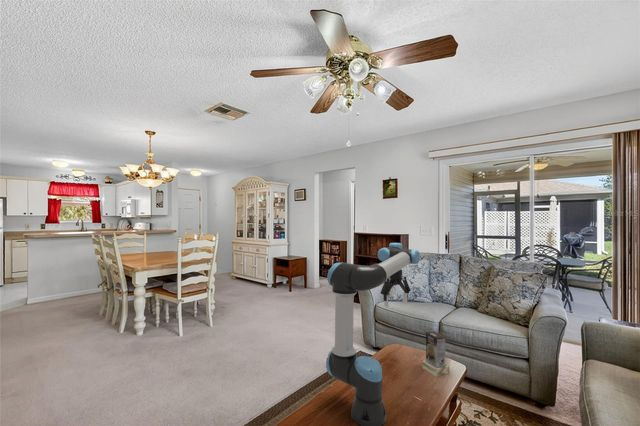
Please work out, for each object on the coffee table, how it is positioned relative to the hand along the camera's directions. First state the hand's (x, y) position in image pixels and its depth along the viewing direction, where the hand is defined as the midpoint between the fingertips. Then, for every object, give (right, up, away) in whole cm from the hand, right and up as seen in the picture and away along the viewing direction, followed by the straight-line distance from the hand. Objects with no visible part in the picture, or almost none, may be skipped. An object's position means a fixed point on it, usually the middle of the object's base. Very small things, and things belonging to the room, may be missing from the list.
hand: (395, 305), depth 173 cm
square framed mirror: (+21, -35, -8) cm, 41 cm away
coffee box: (+20, -31, -8) cm, 38 cm away
